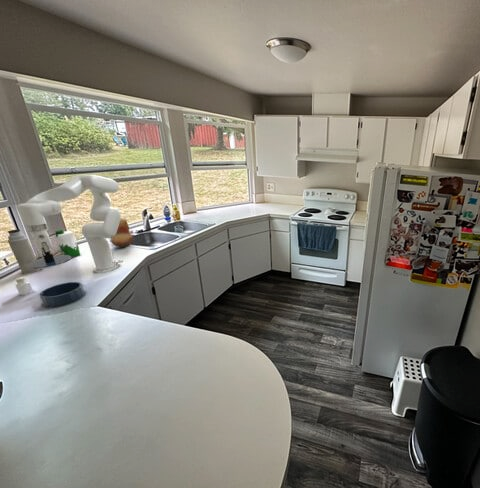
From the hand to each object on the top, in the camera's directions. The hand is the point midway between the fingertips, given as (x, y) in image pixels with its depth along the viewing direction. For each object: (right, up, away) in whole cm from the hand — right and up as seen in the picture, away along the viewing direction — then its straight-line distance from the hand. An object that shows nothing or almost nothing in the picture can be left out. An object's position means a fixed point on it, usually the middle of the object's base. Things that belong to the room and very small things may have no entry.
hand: (49, 260), depth 132 cm
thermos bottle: (-43, -9, +28) cm, 52 cm away
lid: (0, -1, 0) cm, 1 cm away
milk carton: (-41, 0, +53) cm, 67 cm away
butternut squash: (-18, +7, +72) cm, 75 cm away
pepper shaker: (-18, -19, +5) cm, 26 cm away
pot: (+7, -21, +1) cm, 22 cm away
